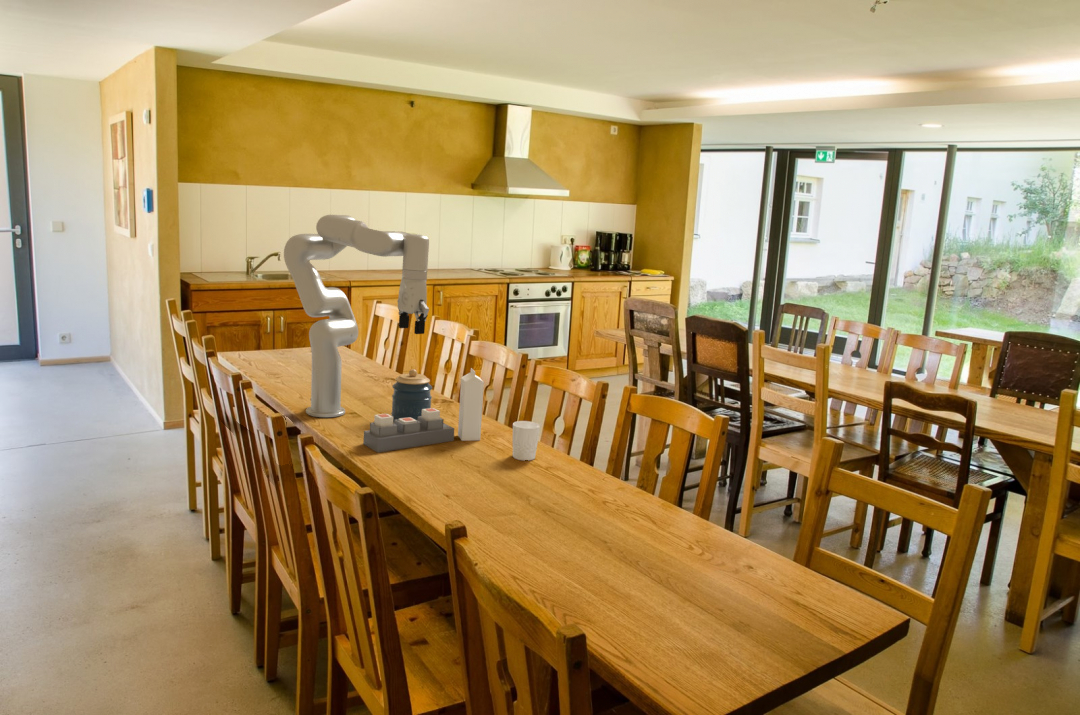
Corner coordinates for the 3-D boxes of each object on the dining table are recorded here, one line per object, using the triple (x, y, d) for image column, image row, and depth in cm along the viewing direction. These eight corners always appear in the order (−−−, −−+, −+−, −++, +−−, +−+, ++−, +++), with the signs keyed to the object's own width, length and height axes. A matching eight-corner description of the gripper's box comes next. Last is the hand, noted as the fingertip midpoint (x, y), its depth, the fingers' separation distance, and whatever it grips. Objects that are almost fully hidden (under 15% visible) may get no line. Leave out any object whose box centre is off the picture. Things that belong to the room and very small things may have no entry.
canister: (403, 428, 245) (405, 374, 242) (383, 418, 255) (385, 366, 252) (437, 423, 254) (440, 371, 250) (417, 414, 263) (420, 363, 260)
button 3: (421, 418, 235) (421, 408, 235) (432, 417, 238) (433, 407, 237) (428, 422, 232) (428, 411, 232) (439, 420, 235) (439, 410, 234)
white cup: (540, 455, 229) (542, 423, 227) (532, 463, 221) (535, 429, 219) (515, 451, 231) (517, 419, 229) (507, 458, 223) (509, 425, 221)
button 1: (374, 424, 225) (374, 414, 224) (386, 423, 228) (386, 413, 227) (380, 428, 222) (381, 417, 221) (392, 426, 225) (393, 416, 224)
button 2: (398, 428, 230) (398, 418, 230) (409, 426, 233) (410, 416, 232) (404, 431, 227) (405, 421, 227) (416, 430, 230) (416, 420, 229)
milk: (476, 435, 244) (480, 367, 240) (480, 440, 239) (485, 371, 235) (457, 435, 243) (461, 367, 239) (461, 440, 237) (465, 371, 233)
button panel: (363, 443, 227) (364, 421, 226) (438, 432, 243) (439, 412, 242) (377, 452, 220) (378, 429, 219) (453, 440, 237) (454, 419, 235)
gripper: (389, 271, 237) (387, 326, 240) (418, 279, 224) (414, 336, 227) (411, 272, 241) (408, 325, 245) (440, 279, 228) (436, 335, 232)
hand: (411, 330), depth 236 cm, fingers open, 9 cm apart
